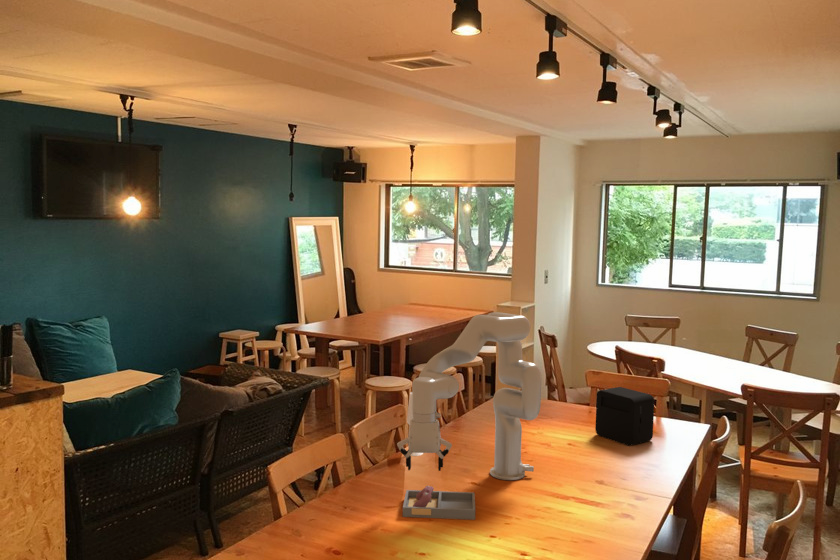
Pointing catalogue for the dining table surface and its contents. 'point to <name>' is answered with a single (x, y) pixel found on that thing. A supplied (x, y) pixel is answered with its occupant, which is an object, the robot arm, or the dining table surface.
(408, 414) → the champagne flute
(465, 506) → the tray
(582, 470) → the dining table surface
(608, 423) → the air purifier
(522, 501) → the dining table surface
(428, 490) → the purple-brown lumpy piece
